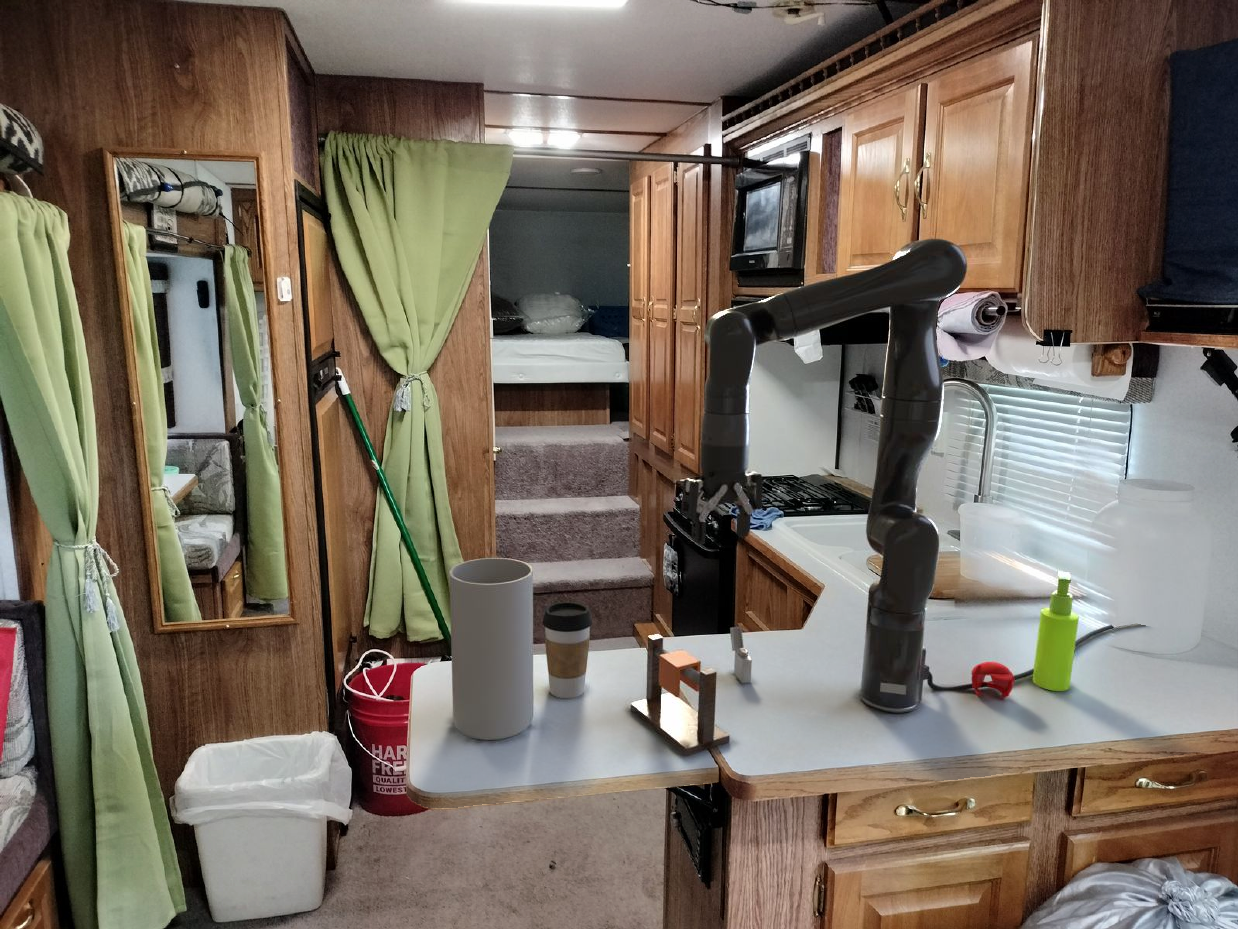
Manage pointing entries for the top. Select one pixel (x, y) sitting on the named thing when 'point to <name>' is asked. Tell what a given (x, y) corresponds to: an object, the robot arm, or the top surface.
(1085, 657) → the top surface
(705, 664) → the top surface
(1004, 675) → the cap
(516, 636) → the cylinder vase
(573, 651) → the coffee cup
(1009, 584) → the top surface
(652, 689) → the handle stand
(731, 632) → the lighter
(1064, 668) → the soap dispenser
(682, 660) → the clip
